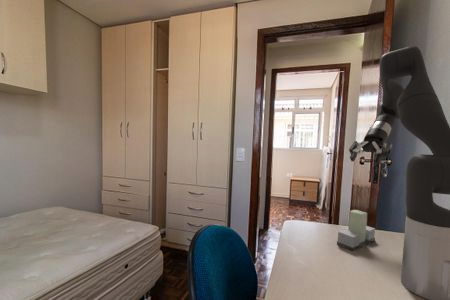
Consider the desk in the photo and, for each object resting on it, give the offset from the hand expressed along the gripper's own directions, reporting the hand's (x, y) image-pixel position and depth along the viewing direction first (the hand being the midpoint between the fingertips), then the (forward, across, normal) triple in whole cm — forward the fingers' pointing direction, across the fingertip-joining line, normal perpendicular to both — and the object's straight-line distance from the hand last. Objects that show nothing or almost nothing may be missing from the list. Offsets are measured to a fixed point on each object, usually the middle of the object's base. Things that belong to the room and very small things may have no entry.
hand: (362, 161), depth 87 cm
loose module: (+27, +4, +12) cm, 30 cm away
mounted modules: (+28, +4, +13) cm, 31 cm away
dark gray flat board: (+28, +4, +13) cm, 31 cm away
